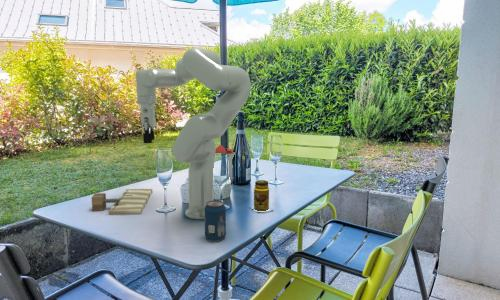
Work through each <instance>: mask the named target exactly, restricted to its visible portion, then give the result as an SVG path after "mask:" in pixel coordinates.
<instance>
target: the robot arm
mask: <svg viewBox="0 0 500 300" xmlns="http://www.w3.org/2000/svg"><path fill="white" fill-rule="evenodd" d="M194 79H195V80H197V81H198V82H200V83H201V84H202V85H204V86H205V87H206V88H208V89H210V90H212V91H214V92H215V91H217V92H222V91H223V92H224V91H225V92H224V93H223V94H222V95H221V96H220V97H219V98H218V99H217V100H216V102H215V103H214V105H213V107H212V108H211V109H210V110H209V111H208V112H205V113H198V114H197V113H196V114H194V115H193V116H191V117H190V118H188V120H187V121H186V122H185V123H184V126H183V127H182V129H181V130H180V132H179V133H178V135H177V137H176V139H175V140H174V142H173V146H172V154H173V157H174V158H175V160H176V161H177V162H180V163H183V164H185V163H189V165H188V175H187V176H188V208H187V209H186V210H185V212H184V213H185V215H184V216H186V217H187V218H189V219H193V220H205V207H206V203H207V202H209V201H215V200H214V191H215V190H214V185H213V168H214V157H215V151H216V148H217V144H216V141H215V140H216V139H219V138H221V137H222V136H224V134H225V133H226V131H227V130H228V128H230V125H231V124H232V123H233V121H234V119H235V118H236V117H237V115H238V113H239V112H240V111H241V109H242V108H243V106H244V105H245V104H246V102H247V101H248V99H249V96H250V93H251V90H252V89H251V87H252V85H251V78H250V76H249V74H248V72H247V71H246V70H245V69H244V68H241V67H239V66H237V65H235V66H234V65H225V64H221V58H220V56H219V54H218V53H217V52H215V51H214V50H211V49H207V48H199V47H198V48H196V47H194V48H193V47H192V48H189V49H187V50H186V51H185V52H184V54H183V55H182V57H181V58H179V59H178V60H177V62H176V65H175V67H174V68H155V67H154V68H148V69H139V70H136V72H135V83H136V85H135V86H136V99H137V101H136V102H137V105H139V106H140V121H141V127H142V129H143V130H142V131H143V133H142V136H143V137H142V139H143V140H142V141H143V144H152V142H153V141H155V131H154V128H156V127H157V122H156V121H157V120H156V109H155V105H157V91H156V89H161V88H162V89H169V88H176V87H179V86H184V85H186V84H188V83H189V82H190V81H192V80H194Z"/></svg>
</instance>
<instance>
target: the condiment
mask: <svg viewBox="0 0 500 300" xmlns="http://www.w3.org/2000/svg"><path fill="white" fill-rule="evenodd" d="M253 190H254V191H253V206H254V209H255V210H257V211H266V210H268V209H269V208H270V188H269V182H268V180H265V179H263V180H262V179H259V180H256V181H255V183H254V188H253Z"/></svg>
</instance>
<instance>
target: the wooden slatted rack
mask: <svg viewBox="0 0 500 300" xmlns="http://www.w3.org/2000/svg"><path fill="white" fill-rule="evenodd" d="M152 193H153V188H131V189H130V188H126V189H125V190H124V191H123V192H122V194H121V195H120V196H119V198H118V199H120V202H119V203H118V205H117V204H116V203H114V204H113V205H112V206H111V208H110V209H109V210H108V215H109V216H115V215H116V216H118V215H120V216H121V215H142V212H143V211H144V209H145V207H146V205H147V203H148V201H149V199H150V197H151V196H152Z"/></svg>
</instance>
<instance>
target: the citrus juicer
mask: <svg viewBox="0 0 500 300" xmlns="http://www.w3.org/2000/svg"><path fill="white" fill-rule="evenodd" d="M226 149H227V151H226V150H225V147H224V146H223V145H222V144H219V145H218V146H216V151H215V153H227V152H228V153H227V154H229V177H230V180H231V182H232V183H233V181H232V168H233V165H232V159H233V157H234V155H235V156H236V152H233V151H232V150H234V149H232V148H226Z"/></svg>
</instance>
